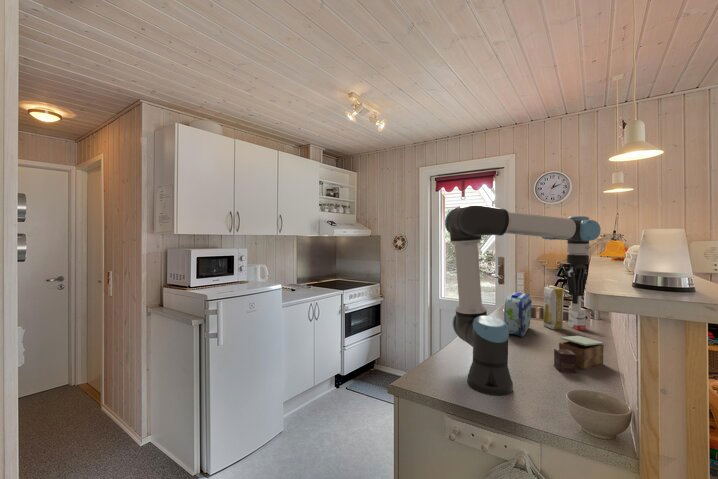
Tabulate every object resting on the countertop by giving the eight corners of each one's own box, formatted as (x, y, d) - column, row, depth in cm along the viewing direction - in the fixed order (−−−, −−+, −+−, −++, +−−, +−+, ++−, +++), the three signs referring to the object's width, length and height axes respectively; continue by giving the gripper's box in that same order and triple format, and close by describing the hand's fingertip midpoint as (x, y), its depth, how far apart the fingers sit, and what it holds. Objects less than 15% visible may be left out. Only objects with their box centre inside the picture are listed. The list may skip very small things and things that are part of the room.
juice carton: (541, 325, 196) (542, 284, 195) (553, 325, 197) (554, 284, 196) (552, 330, 186) (553, 287, 186) (565, 329, 187) (566, 287, 187)
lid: (585, 345, 132) (585, 344, 133) (560, 338, 141) (560, 337, 141) (603, 343, 139) (603, 342, 139) (578, 337, 148) (578, 335, 148)
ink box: (586, 330, 186) (586, 309, 186) (577, 330, 186) (577, 309, 186) (576, 326, 195) (576, 305, 194) (567, 326, 195) (568, 305, 194)
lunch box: (524, 339, 170) (525, 298, 169) (501, 335, 176) (502, 296, 175) (532, 327, 191) (533, 291, 190) (512, 324, 197) (513, 289, 197)
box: (576, 373, 130) (576, 354, 129) (559, 372, 131) (559, 353, 131) (569, 367, 136) (570, 349, 135) (553, 365, 137) (553, 348, 137)
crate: (583, 370, 132) (584, 350, 132) (558, 361, 141) (559, 342, 141) (603, 363, 139) (603, 344, 139) (577, 355, 148) (578, 337, 148)
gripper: (578, 255, 131) (577, 315, 131) (596, 254, 137) (594, 311, 138) (559, 253, 137) (558, 311, 138) (577, 253, 143) (575, 307, 144)
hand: (576, 311), depth 138 cm, fingers closed
